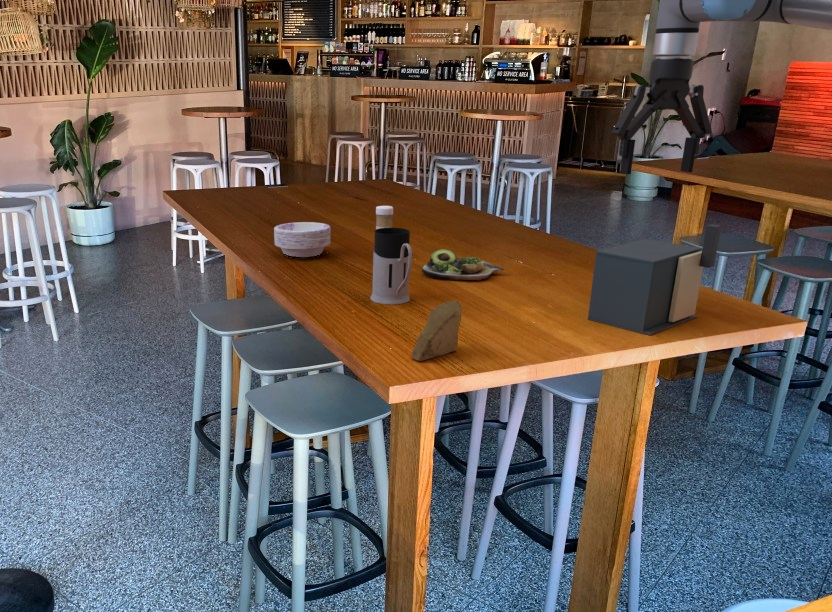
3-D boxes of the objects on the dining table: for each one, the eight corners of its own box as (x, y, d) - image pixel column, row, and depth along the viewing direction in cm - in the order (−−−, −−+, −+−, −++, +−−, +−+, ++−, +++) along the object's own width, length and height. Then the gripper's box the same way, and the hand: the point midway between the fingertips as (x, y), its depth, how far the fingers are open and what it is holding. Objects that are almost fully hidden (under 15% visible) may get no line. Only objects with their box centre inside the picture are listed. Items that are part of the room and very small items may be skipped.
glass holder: (400, 292, 179) (402, 225, 174) (427, 309, 167) (431, 238, 161) (364, 295, 177) (365, 228, 171) (389, 313, 164) (391, 241, 159)
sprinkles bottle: (394, 256, 213) (396, 206, 208) (387, 259, 209) (388, 208, 204) (379, 254, 215) (380, 204, 210) (371, 258, 211) (372, 207, 206)
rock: (419, 356, 133) (474, 343, 135) (405, 309, 135) (459, 297, 137) (405, 373, 144) (456, 361, 145) (392, 329, 145) (443, 318, 147)
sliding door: (704, 316, 159) (721, 225, 152) (682, 324, 154) (699, 231, 147) (690, 312, 161) (706, 223, 154) (668, 321, 156) (683, 228, 149)
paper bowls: (282, 248, 223) (281, 219, 220) (335, 250, 220) (335, 221, 217) (268, 260, 209) (267, 230, 206) (324, 262, 206) (324, 232, 203)
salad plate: (508, 268, 200) (510, 250, 198) (497, 285, 185) (499, 265, 183) (433, 262, 206) (434, 244, 205) (416, 278, 191) (417, 259, 189)
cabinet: (696, 317, 161) (709, 249, 155) (650, 335, 150) (662, 263, 145) (635, 303, 170) (645, 238, 165) (587, 319, 160) (596, 250, 155)
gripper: (717, 58, 156) (699, 168, 164) (602, 58, 152) (589, 172, 160) (744, 57, 150) (723, 172, 157) (624, 58, 145) (609, 176, 153)
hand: (655, 172), depth 159 cm, fingers open, 13 cm apart
